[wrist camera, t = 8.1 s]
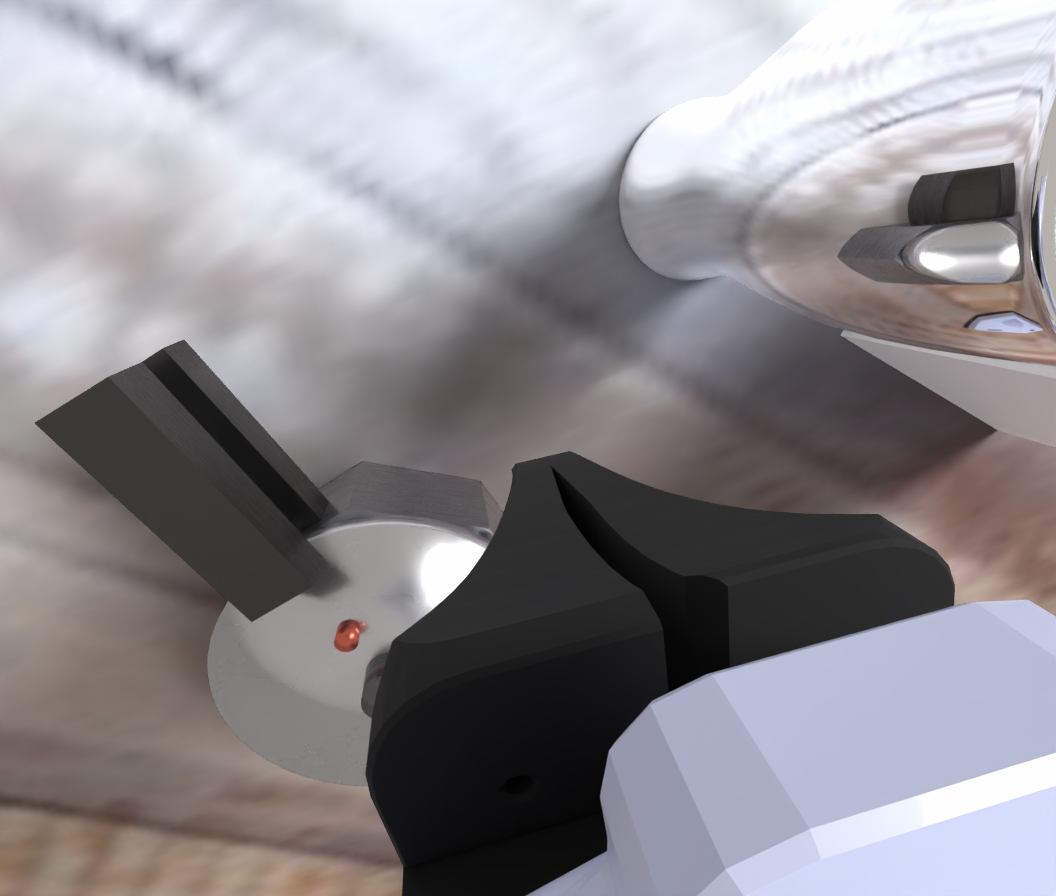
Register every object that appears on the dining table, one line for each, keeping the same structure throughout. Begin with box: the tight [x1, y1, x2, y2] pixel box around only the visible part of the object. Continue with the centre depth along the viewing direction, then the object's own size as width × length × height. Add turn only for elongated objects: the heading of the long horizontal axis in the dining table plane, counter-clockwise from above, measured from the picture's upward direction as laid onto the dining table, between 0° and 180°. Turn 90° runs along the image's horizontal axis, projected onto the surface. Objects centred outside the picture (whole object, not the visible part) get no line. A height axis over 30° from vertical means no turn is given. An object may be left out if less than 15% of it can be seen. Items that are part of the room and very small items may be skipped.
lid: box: [35, 362, 490, 786], centre depth 18 cm, size 19×12×2 cm, turn 29°
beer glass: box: [619, 0, 1056, 367], centre depth 13 cm, size 7×7×15 cm
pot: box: [143, 340, 503, 602], centre depth 21 cm, size 21×12×4 cm, turn 30°
